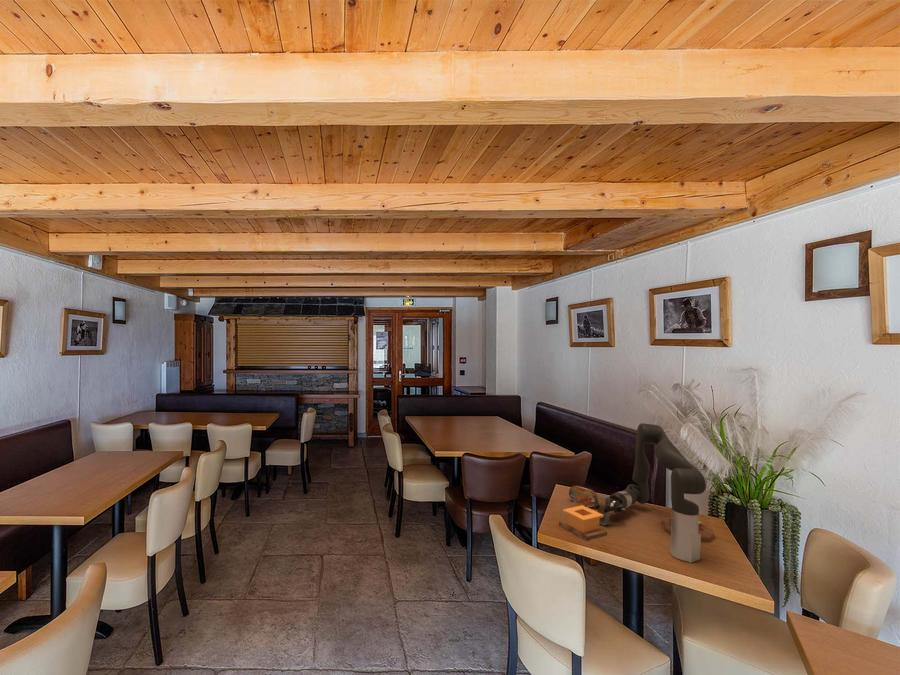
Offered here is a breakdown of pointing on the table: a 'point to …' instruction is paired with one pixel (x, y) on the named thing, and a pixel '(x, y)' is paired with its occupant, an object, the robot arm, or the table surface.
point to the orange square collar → (583, 518)
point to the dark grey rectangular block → (602, 503)
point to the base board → (587, 534)
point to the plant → (703, 529)
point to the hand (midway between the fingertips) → (600, 508)
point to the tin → (583, 496)
